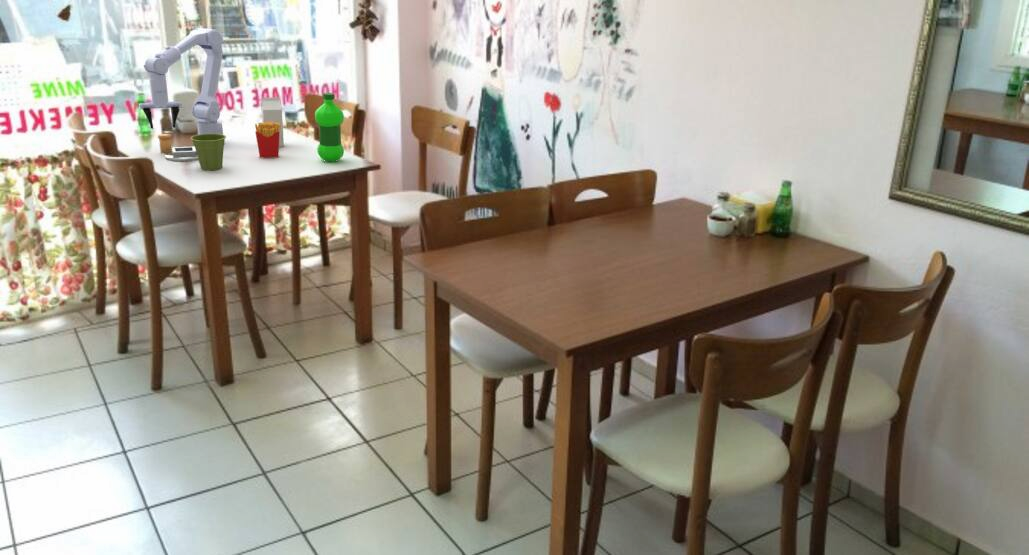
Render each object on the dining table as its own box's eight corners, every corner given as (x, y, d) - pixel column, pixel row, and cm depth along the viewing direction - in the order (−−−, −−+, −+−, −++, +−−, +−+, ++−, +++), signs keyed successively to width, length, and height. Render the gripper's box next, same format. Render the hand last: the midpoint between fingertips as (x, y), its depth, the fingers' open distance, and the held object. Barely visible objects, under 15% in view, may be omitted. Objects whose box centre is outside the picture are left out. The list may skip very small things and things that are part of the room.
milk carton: (284, 147, 332) (281, 99, 325) (265, 147, 329) (262, 99, 322) (281, 143, 338) (279, 95, 331) (263, 143, 335) (260, 96, 328)
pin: (172, 150, 318) (171, 133, 315) (173, 153, 314) (171, 136, 311) (159, 151, 316) (157, 134, 314) (159, 154, 312) (157, 136, 309)
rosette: (219, 151, 320) (219, 142, 319) (223, 159, 309) (222, 150, 308) (165, 154, 313) (164, 145, 311) (166, 162, 302) (165, 153, 300)
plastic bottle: (341, 156, 321) (339, 91, 312) (346, 163, 312) (344, 96, 303) (315, 157, 318) (312, 91, 309) (319, 164, 309) (316, 96, 300)
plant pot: (209, 162, 304) (206, 131, 300) (235, 166, 300) (233, 135, 296) (186, 169, 294) (182, 137, 290) (213, 174, 290) (210, 142, 286)
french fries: (257, 158, 313) (254, 123, 309) (256, 155, 317) (254, 121, 312) (282, 157, 316) (280, 123, 311) (281, 154, 320) (279, 121, 315)
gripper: (178, 88, 313) (181, 124, 318) (136, 89, 306) (140, 126, 311) (181, 91, 307) (184, 128, 312) (138, 93, 301) (143, 130, 306)
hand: (163, 127), depth 311 cm, fingers open, 7 cm apart
